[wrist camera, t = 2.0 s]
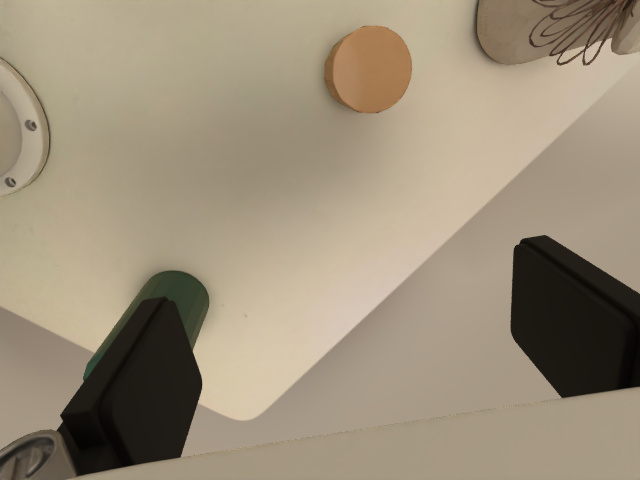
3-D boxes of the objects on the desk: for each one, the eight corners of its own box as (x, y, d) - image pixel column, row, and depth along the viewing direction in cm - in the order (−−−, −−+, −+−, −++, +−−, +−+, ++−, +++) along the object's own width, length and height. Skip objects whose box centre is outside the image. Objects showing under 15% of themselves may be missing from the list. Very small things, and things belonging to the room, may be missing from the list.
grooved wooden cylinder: (323, 105, 34) (330, 111, 27) (326, 34, 31) (334, 23, 25) (385, 107, 34) (406, 114, 27) (391, 38, 32) (416, 27, 25)
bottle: (147, 326, 41) (64, 466, 26) (138, 270, 38) (41, 390, 24) (211, 326, 41) (165, 464, 27) (206, 270, 39) (153, 388, 24)
